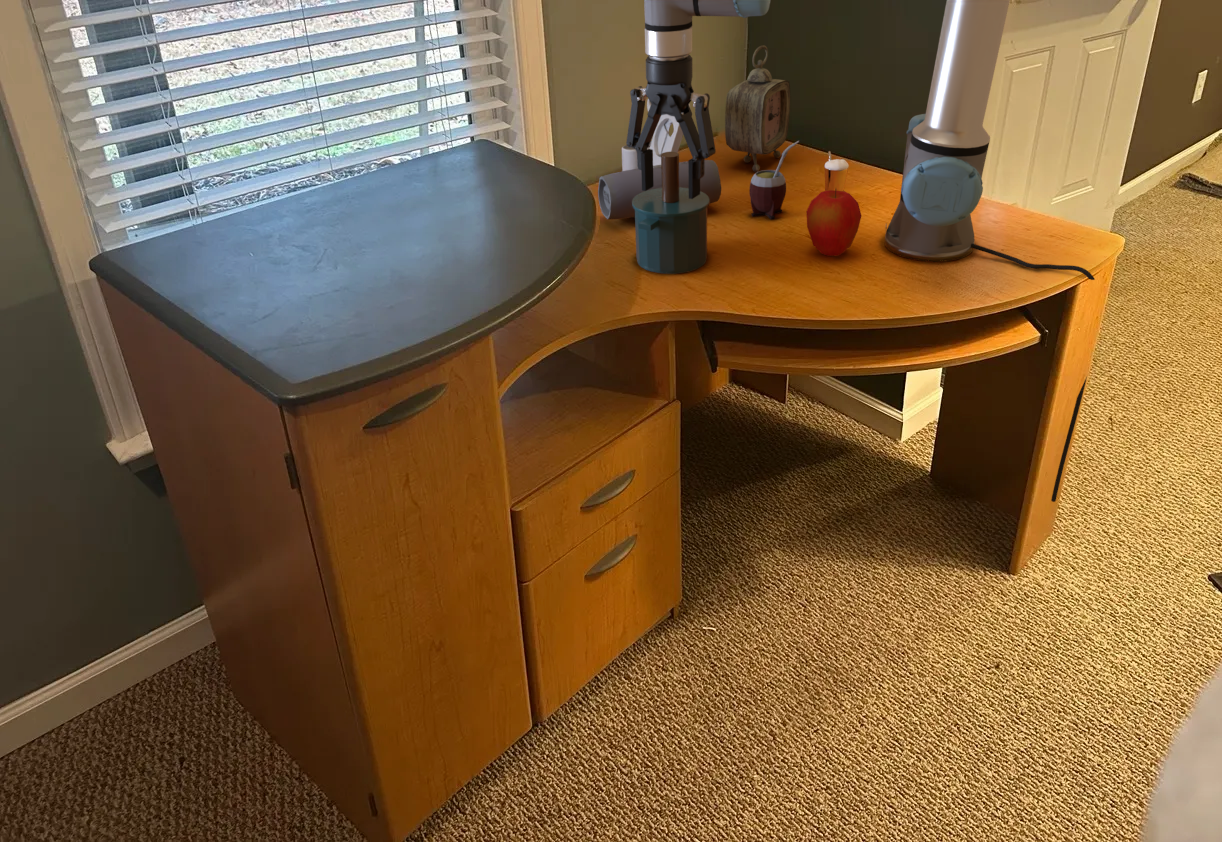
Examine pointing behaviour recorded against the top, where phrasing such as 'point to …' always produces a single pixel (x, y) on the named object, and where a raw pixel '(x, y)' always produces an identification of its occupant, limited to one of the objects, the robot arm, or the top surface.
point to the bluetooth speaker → (627, 184)
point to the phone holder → (656, 142)
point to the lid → (669, 194)
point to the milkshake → (835, 174)
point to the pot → (671, 242)
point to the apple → (833, 221)
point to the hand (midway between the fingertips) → (670, 192)
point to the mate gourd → (768, 190)
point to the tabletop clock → (758, 113)
